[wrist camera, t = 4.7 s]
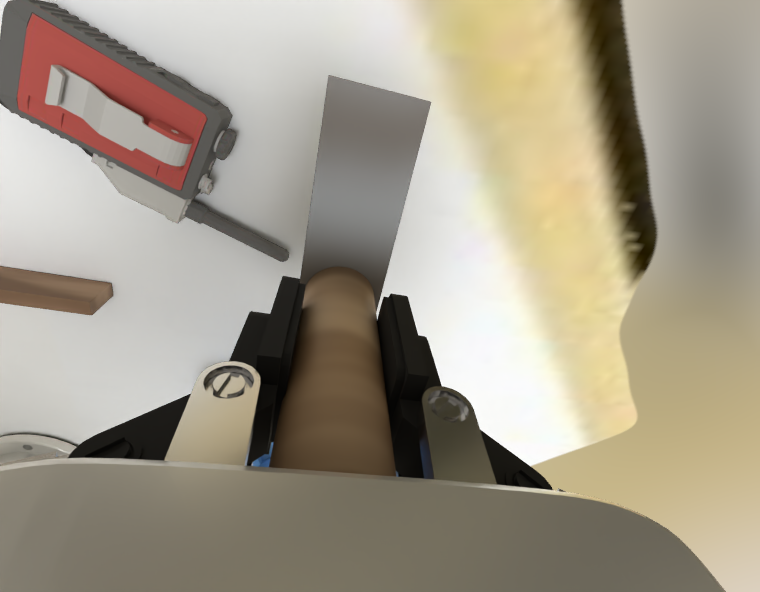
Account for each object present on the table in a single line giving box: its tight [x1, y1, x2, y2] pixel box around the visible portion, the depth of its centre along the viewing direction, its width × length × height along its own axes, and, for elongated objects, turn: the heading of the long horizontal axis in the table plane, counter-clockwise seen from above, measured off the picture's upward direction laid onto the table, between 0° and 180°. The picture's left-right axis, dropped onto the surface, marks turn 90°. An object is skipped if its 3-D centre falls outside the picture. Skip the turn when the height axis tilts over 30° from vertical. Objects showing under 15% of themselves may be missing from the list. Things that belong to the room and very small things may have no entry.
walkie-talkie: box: [0, 0, 289, 262], centre depth 24 cm, size 9×4×20 cm
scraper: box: [269, 75, 431, 477], centre depth 13 cm, size 14×3×13 cm, turn 167°
